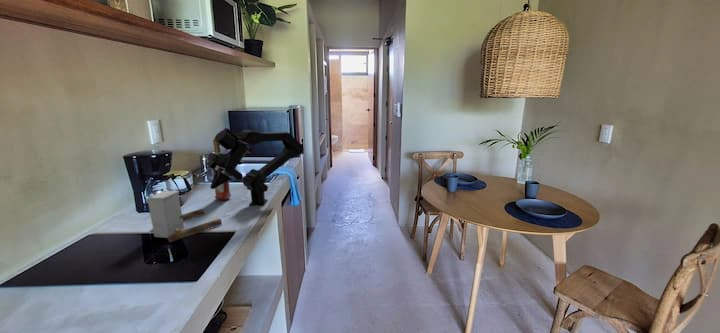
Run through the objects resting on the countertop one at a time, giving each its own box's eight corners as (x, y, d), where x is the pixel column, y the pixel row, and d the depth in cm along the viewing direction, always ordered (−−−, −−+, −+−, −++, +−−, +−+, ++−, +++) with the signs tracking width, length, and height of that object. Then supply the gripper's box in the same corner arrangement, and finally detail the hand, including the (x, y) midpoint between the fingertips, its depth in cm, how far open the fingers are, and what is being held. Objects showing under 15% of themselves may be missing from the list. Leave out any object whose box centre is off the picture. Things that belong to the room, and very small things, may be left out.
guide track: (202, 212, 128) (201, 205, 127) (222, 224, 117) (220, 216, 116) (153, 227, 114) (151, 219, 113) (170, 242, 104) (168, 233, 103)
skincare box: (169, 238, 107) (162, 198, 103) (153, 237, 107) (145, 197, 103) (185, 227, 115) (179, 190, 111) (170, 226, 115) (163, 189, 111)
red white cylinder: (211, 200, 141) (203, 140, 133) (223, 195, 147) (216, 137, 140) (223, 202, 138) (215, 141, 131) (235, 197, 145) (228, 139, 137)
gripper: (208, 141, 125) (184, 173, 120) (231, 147, 114) (205, 183, 109) (229, 156, 133) (207, 187, 128) (252, 164, 122) (229, 197, 117)
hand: (211, 188), depth 120 cm, fingers closed
